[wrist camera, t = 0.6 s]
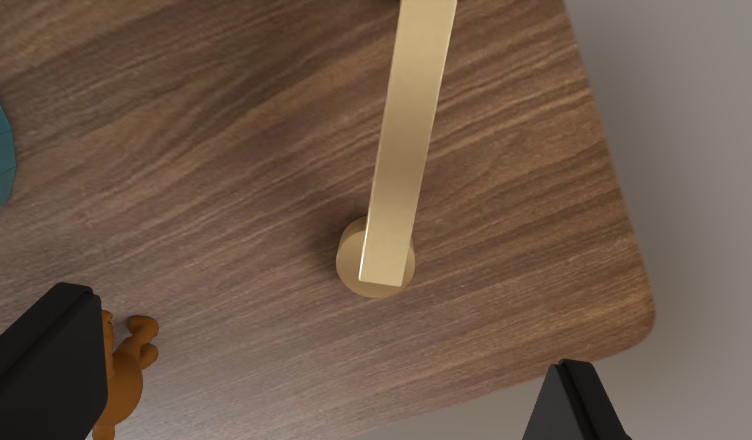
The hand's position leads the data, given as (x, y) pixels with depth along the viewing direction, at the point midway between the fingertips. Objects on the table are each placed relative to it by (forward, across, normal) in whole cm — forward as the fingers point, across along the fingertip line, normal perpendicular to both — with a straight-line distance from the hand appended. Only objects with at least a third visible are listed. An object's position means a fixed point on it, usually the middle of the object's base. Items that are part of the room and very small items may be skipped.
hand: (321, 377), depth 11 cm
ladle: (+19, -1, +1) cm, 19 cm away
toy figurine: (+19, +12, +16) cm, 28 cm away
